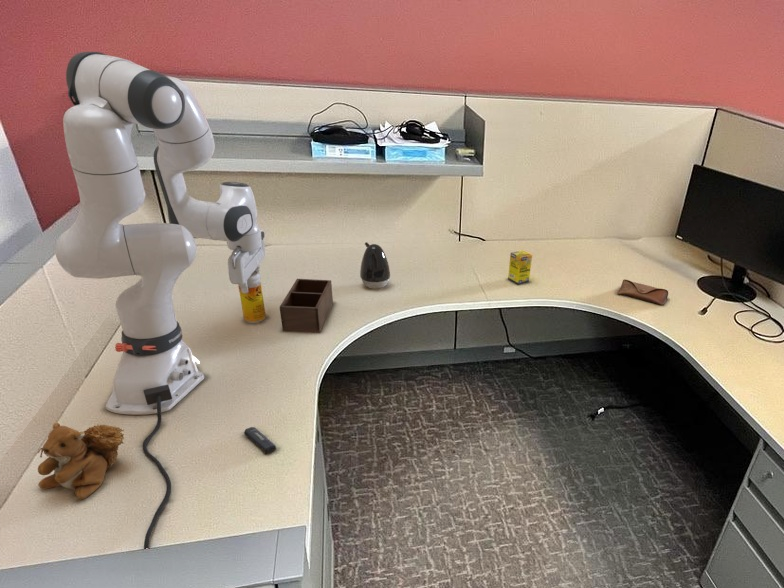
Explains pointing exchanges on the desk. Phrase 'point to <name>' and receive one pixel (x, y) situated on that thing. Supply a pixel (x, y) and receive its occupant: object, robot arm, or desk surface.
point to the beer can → (253, 300)
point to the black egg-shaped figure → (374, 267)
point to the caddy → (306, 305)
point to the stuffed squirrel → (79, 457)
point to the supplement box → (519, 267)
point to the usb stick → (260, 439)
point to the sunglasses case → (643, 292)
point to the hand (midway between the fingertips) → (251, 285)
